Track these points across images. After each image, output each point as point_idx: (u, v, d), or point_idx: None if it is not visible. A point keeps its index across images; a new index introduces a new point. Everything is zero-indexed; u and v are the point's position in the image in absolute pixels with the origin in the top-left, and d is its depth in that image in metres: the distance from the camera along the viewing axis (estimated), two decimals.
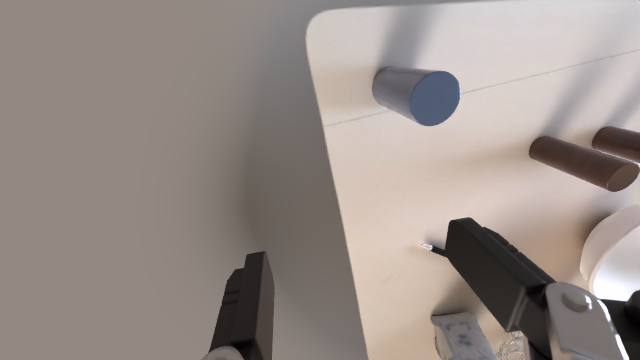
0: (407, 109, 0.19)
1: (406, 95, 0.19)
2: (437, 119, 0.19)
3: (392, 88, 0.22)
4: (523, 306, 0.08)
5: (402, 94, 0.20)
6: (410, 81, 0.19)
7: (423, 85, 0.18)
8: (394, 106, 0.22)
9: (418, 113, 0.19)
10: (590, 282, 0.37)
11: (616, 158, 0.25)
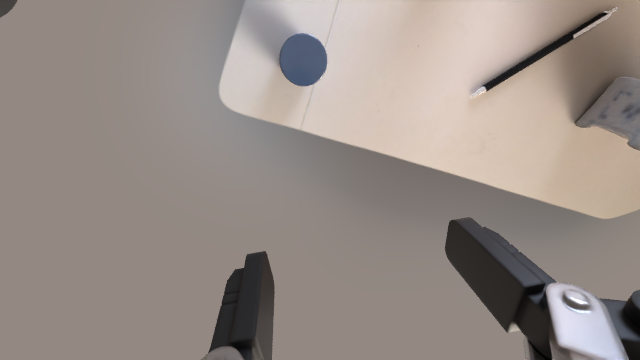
0: (300, 85, 0.22)
1: None
2: (321, 64, 0.21)
3: None
4: (523, 306, 0.08)
5: None
6: None
7: (286, 67, 0.21)
8: None
9: (307, 80, 0.22)
10: None
11: None
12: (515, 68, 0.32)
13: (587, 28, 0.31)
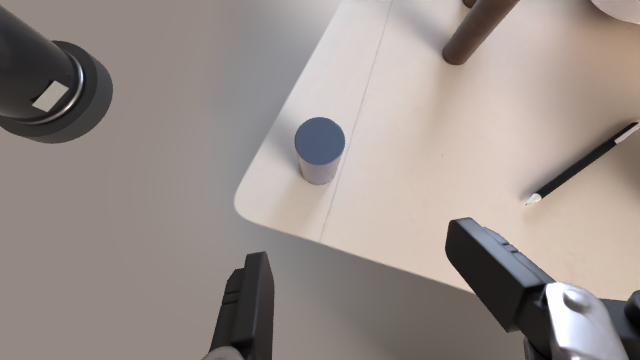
0: (316, 166, 0.20)
1: (305, 162, 0.20)
2: (339, 144, 0.20)
3: (305, 169, 0.23)
4: (523, 306, 0.08)
5: (305, 164, 0.21)
6: (297, 154, 0.21)
7: (301, 146, 0.20)
8: (319, 174, 0.23)
9: (323, 158, 0.19)
10: None
11: None
12: (565, 173, 0.28)
13: (626, 135, 0.29)
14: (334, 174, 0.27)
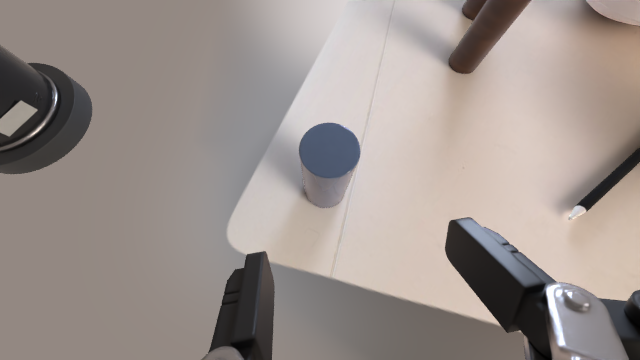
0: (326, 180, 0.16)
1: (312, 177, 0.16)
2: (353, 152, 0.16)
3: (311, 188, 0.19)
4: (523, 306, 0.08)
5: (312, 180, 0.17)
6: (302, 168, 0.17)
7: (307, 157, 0.16)
8: (329, 192, 0.19)
9: (335, 170, 0.16)
10: None
11: None
12: (606, 181, 0.25)
13: None
14: None
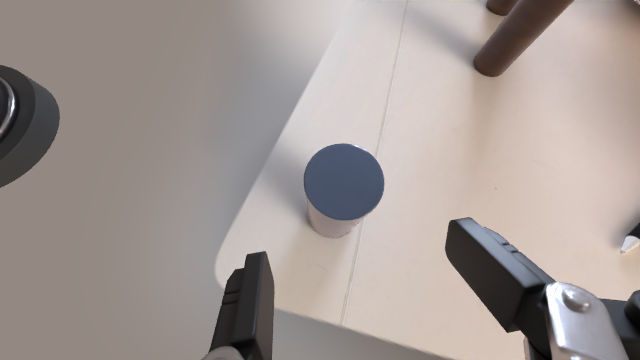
0: (340, 221, 0.12)
1: (321, 216, 0.12)
2: (375, 183, 0.12)
3: (318, 222, 0.15)
4: (523, 306, 0.08)
5: (321, 218, 0.13)
6: (308, 202, 0.13)
7: (314, 190, 0.12)
8: (341, 229, 0.15)
9: (352, 209, 0.12)
10: None
11: None
12: None
13: None
14: None
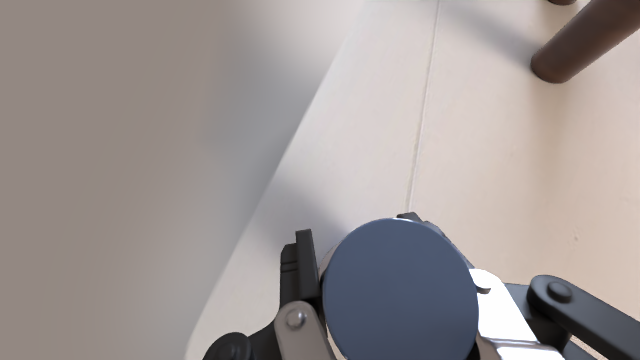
0: None
1: None
2: (463, 305, 0.06)
3: None
4: None
5: None
6: None
7: (345, 321, 0.06)
8: None
9: None
10: None
11: None
12: None
13: None
14: None
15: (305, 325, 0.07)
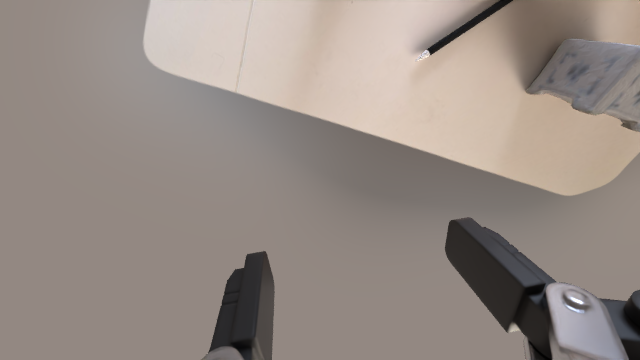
0: None
1: None
2: None
3: None
4: (523, 306, 0.08)
5: None
6: None
7: None
8: None
9: None
10: None
11: None
12: (458, 29, 0.31)
13: None
14: None
15: None
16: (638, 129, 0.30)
